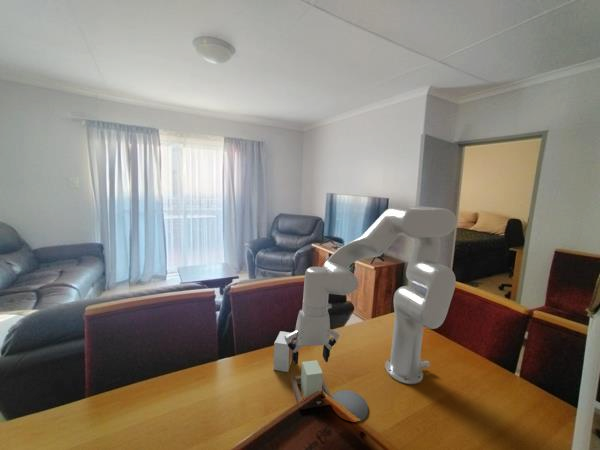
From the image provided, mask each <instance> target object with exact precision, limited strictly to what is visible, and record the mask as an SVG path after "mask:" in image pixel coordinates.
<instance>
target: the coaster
mask: <svg viewBox="0 0 600 450" xmlns="http://www.w3.org/2000/svg"><path fill="white" fill-rule="evenodd" d="M331 396H332V398H333V399H334V400H335V401H337V402H338V403H340V404H342V405H343V406H344V407H345V408H346V409H347V410H348V411H350V412H351V413H352V414H353V415H355V416H356V417H357V418H359V419H360V420H362V421H363V420H365V419H366V418H367V416H368V413H369V407H368V403H367V400H365V398H364V397H363V396H362V395H361V394H359V393H357V392H355V391H353V390H348V389H341V390H339V391H336V392H334V394H333V395H331Z"/></svg>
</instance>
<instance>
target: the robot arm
mask: <svg viewBox="0 0 600 450" xmlns="http://www.w3.org/2000/svg"><path fill="white" fill-rule="evenodd" d="M456 226H457V217H456V214H455V213H454V212H453V211H452V210H450V209H448V208H444V207H443V208H442V207H432V206H425V205H424V206H422V205H415V206H411V207H400V206H392V207H389V208H387V209H386V210H384V211H383V212H382V213H381V215H380V216H379V217H377V219H376V220H374V222H373V223H372V224H371V225H370V226H369V227H368V228H367V229H366V230H365V232H364V233H363V234H362V235H360V237H358V238H356V239H354V240H351V241H350V242H347V243H346V244H345V245H342V246H341V247H340V248H338V249H337V250H335V252H333V253H332V254H331V255H330V256H329V258H328V259H327V260H326V261H325V262H324V264H323V265H322V266H309V267H308V268H306V269H305V272H304V280H303V281H304V284H303V297H302V308H301V309H300V310H299V311H298V315H297V320H296V324H295V328H294V329H295V330H294V331H292V332H289V333H290V334H288V335H286V336H285V337H284V338H285V341H286V343H287V345H288V347H289V348H290V349H291V350H292V362H294V364H295V366H297V365H299V356H300V355H299V350H300V349H301V348H302V347H314V346H315V347H316V346H317V347H318V346H322V347H323V348H322V358H323V360H324V361H325V363H328V362H329V358H330V355H331V350H332V349H333V346H334V345H335V344H337V340H338V339H339V337H340V334H339V332H338V331H335V330H334V329H331V323H330V322H331V321H330V314H329V312H328V311H329V309H332V305H333V304H332V303H329V294H330V295H331V294H332V295H338V296H339V295H340V296H347V295H351V294H353V293H354V292H355V291H356V290H357V288H358V285H359V282H358V281H359V280H358V278H357V276H356V275H355V273H353V272H352V271H350V270H349V269H348V268H349V267H350V266H351V265H352V264H353V263H356V262H358V261H360V260H364V259H372V258H373V259H374V258H377V257H381V256H382V255H383V254H384V253H385V252H386V251H387V250H388V249H389V248H390V246H392V244H393V243H394V242H395V241H396V240H398V238H399V237H400V236H403V237H407V238H411V239H413V245H412V250H411V254H410V257H409V261H408V263H407V267H406V270H405V276H406V279H407V280H408V281H409V282H410V283H412V284H414V285H415V286H418V287H419V288H421V289H423V290H426V292H424V291H422V290H420V289H417V288H416V287H414V286H411V285H404V286H400V287H399V288H397V290H396V291H395V292H394V295H393V310H394V311H393V313H394V321H393V331H392V341H391V342H392V343H391V350H390V358H389V359H387V360H386V362H385V366H384V367H385V370H386V373H387V374H388V375H389V376H390V377H391V378H393V379H394V380H396V381H397V382H399V383H403V384H407V385H417V384H419V383H421V382H422V381H423V380H424V379H423V378H424V373H423V370H422V369H423V368H428V367H430V366H431V363H430V361H429V360H423V359H422V358H421V352H422V345H423V344H422V342H423V336H424V335H423V334H424V328H427V329H430V330H431V329H432V330H434V329H438V328H439V327H441V326H442V325H443V323H444V322H445V319H446V317H447V315H448V312H449V308H450V307H451V306H450V305H451V301H452V299H453V296H454V292H455V289H456V284H457V282H456V281H457V280H456V274H455V273H454V271H453V269H451V268H450V267H448V266H447V265H443V264H441V263H439V259H440V255H441V249H442V242H441V239H440V237H445V236H448V235H450V234H451V233H452V232H453V231H454V230H455V228H456ZM330 337H331V338H330ZM293 338H294V340H295V341H294V343H292V342H291V341H290V340H291V339H293Z"/></svg>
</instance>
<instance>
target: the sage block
mask: <svg viewBox="0 0 600 450" xmlns="http://www.w3.org/2000/svg"><path fill="white" fill-rule="evenodd" d="M300 375H301V384H300V390H301V393H302V395H303V398H305V397H307V396H309V395H311V394H313V393H315V392H317V391H322V378H324V376H323V375H324V373H323V371H322V368H321V366H320V364H319V361H318V359H316V360H306V361H302V362H301V374H300ZM322 392H323V391H322Z"/></svg>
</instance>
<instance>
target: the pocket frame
mask: <svg viewBox="0 0 600 450" xmlns="http://www.w3.org/2000/svg"><path fill="white" fill-rule="evenodd" d="M290 384H291V388H292V391H293V394H294V398H295V402H296V404H297V403H299V402H300V401H301V400H302V401H303V398H302V395H301V392H300V389H299V386H298V385H299V384H300V385H301V374H300V375H295V376H294V375H293V376H291V377H290ZM322 390H323V391H324V392H325V393H326V394H327V395H328V396H329V397H331V398H332V396H333V395H332V394H331V392H330V390H329V388H328V385H327V383H326V381H325V378H324V377H323V378H322ZM323 391H322V392H323ZM332 399H333V398H332ZM316 403H317V404H318V405H319V404H320V403H321V401H317V402H316Z"/></svg>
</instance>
